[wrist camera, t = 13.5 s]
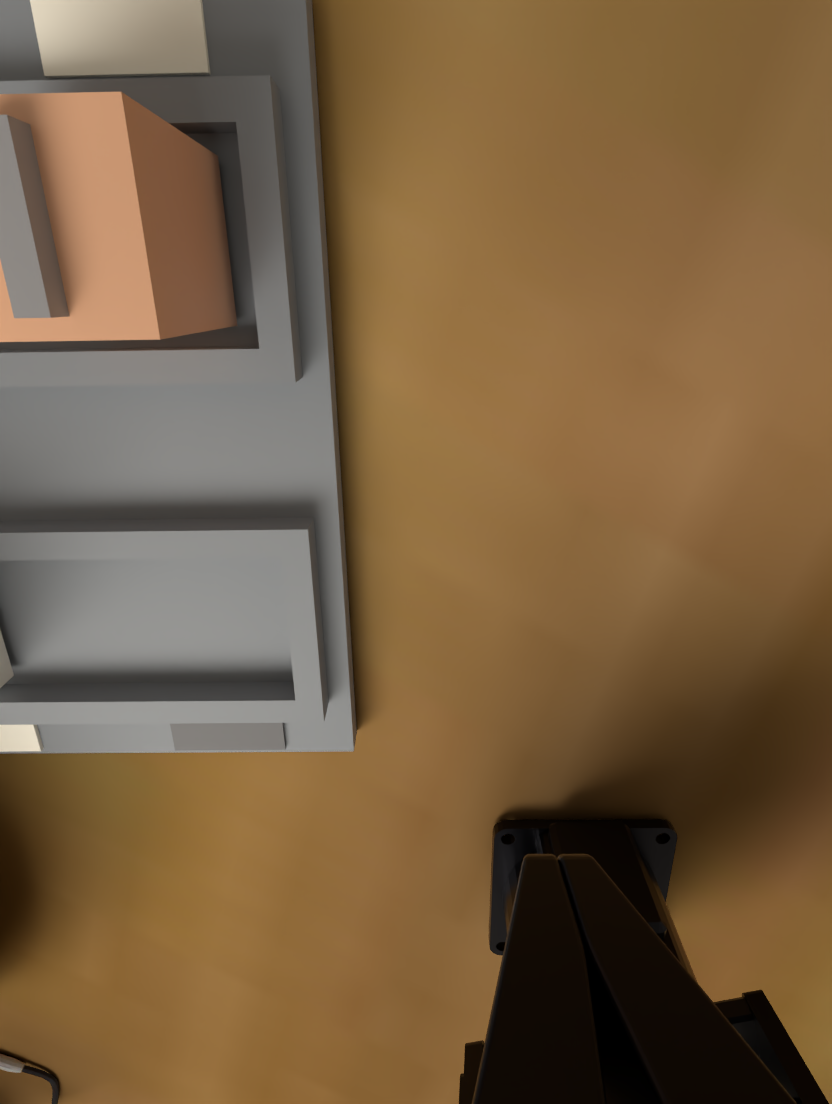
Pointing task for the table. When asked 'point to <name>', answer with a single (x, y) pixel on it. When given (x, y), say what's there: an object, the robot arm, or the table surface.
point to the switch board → (183, 426)
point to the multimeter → (18, 1066)
